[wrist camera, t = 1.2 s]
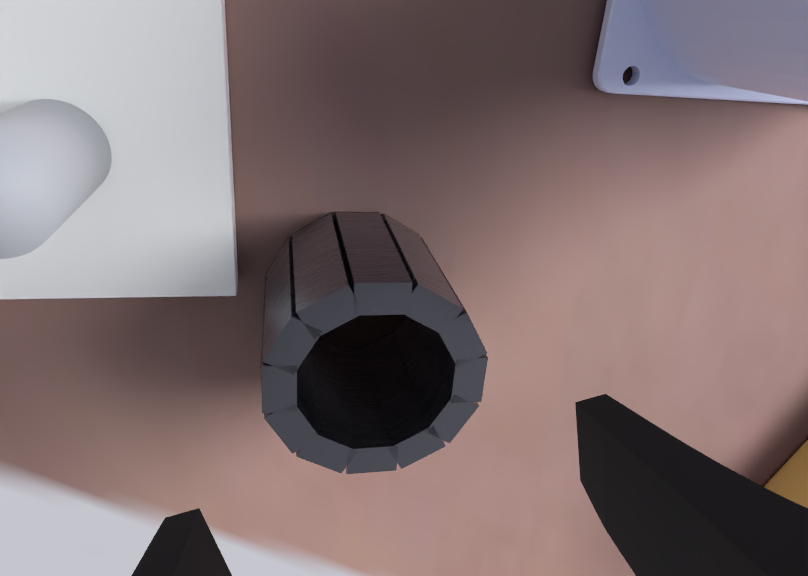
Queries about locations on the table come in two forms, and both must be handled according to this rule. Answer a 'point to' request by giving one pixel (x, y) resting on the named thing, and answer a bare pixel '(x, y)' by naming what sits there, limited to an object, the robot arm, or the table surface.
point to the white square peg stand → (115, 150)
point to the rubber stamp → (793, 478)
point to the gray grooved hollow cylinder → (365, 347)
